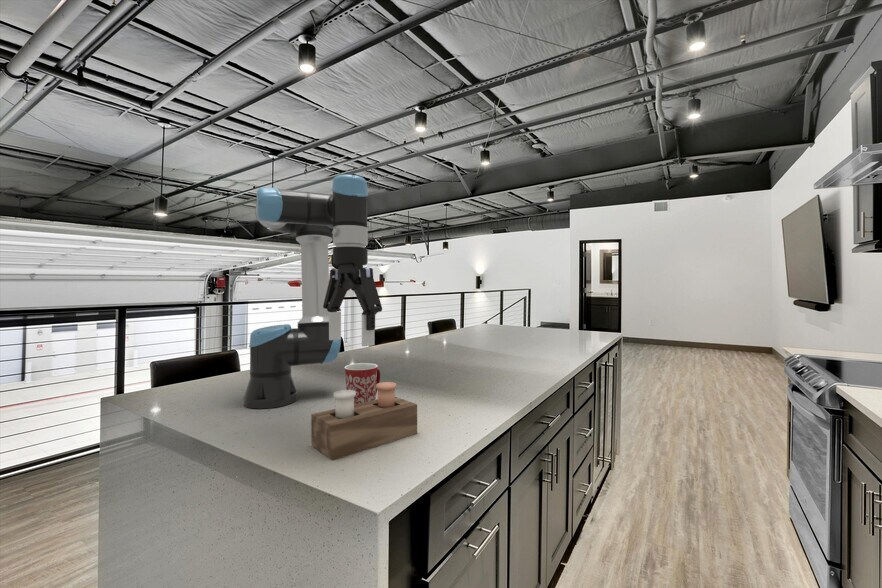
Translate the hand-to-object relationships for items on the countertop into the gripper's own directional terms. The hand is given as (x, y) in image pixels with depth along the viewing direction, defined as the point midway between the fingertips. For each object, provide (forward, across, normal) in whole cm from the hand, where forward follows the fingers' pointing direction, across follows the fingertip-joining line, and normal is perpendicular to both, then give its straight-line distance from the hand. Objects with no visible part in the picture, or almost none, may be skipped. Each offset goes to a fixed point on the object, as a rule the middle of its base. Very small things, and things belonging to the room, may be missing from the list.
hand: (350, 342), depth 87 cm
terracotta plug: (+18, 0, +10) cm, 20 cm away
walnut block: (+23, 0, +4) cm, 23 cm away
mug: (+23, -16, +15) cm, 32 cm away
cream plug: (+18, 0, -1) cm, 18 cm away
